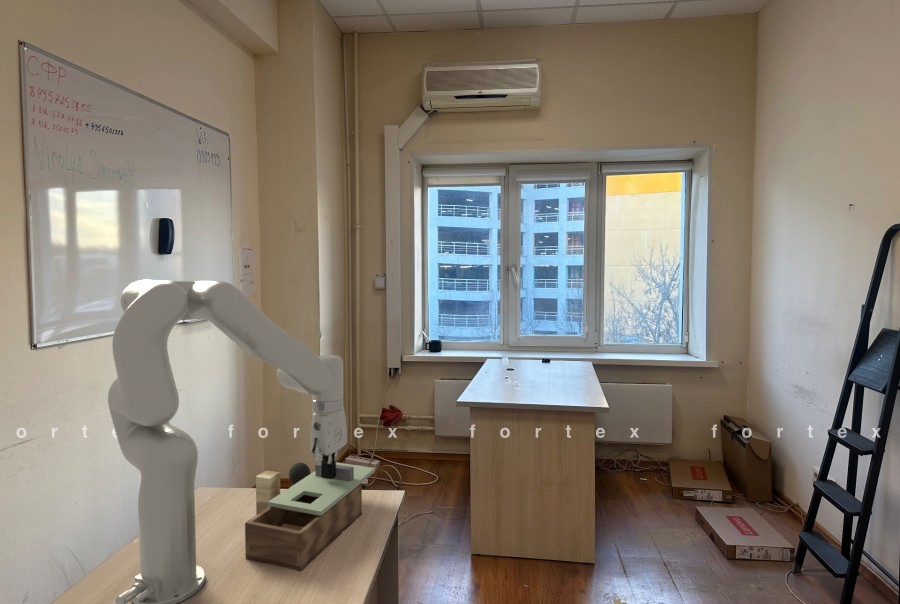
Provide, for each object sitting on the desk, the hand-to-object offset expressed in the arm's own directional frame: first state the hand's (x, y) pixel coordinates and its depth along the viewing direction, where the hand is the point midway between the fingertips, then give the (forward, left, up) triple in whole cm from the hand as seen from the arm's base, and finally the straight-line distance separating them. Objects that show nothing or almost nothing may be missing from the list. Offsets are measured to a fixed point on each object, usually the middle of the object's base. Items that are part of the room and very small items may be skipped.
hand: (328, 477), depth 125 cm
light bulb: (+6, +13, -11) cm, 18 cm away
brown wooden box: (-9, 0, -11) cm, 14 cm away
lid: (-1, 0, -2) cm, 2 cm away
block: (-7, +13, -11) cm, 18 cm away
